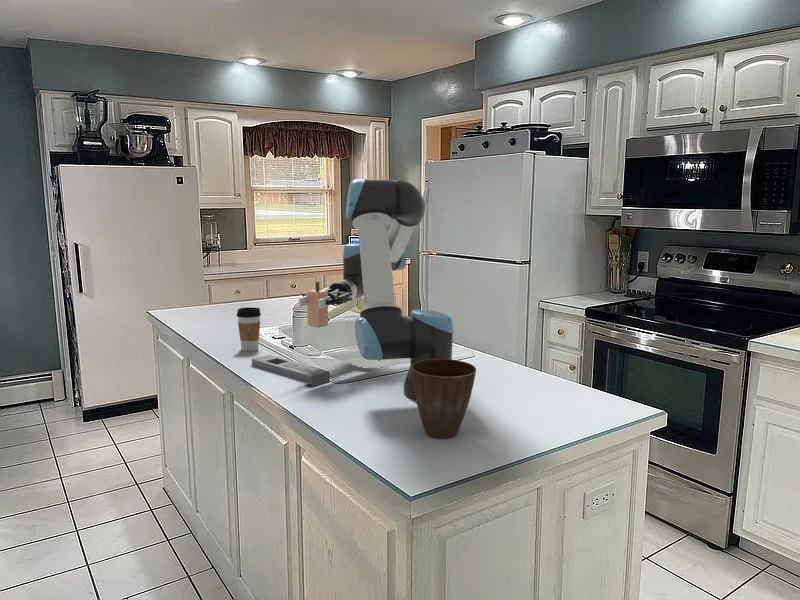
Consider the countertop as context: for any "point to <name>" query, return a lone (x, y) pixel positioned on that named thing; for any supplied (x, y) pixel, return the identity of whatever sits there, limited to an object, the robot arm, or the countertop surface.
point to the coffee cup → (249, 328)
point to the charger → (317, 308)
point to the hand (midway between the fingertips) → (309, 303)
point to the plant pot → (442, 394)
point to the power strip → (293, 370)
